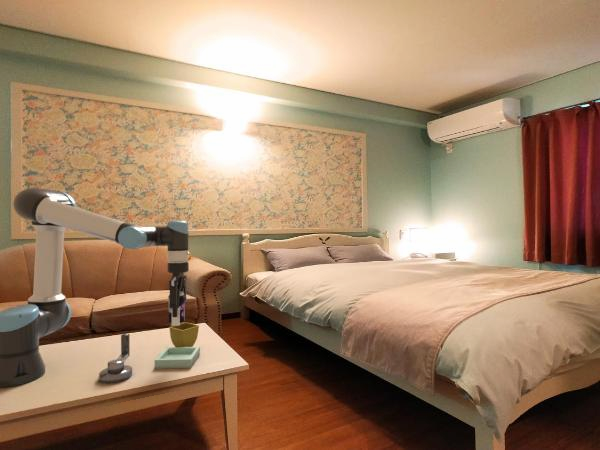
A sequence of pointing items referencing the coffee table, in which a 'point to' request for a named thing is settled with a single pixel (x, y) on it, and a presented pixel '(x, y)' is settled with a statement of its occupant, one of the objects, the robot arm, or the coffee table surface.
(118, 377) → the crank base
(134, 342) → the coffee table surface
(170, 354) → the tray
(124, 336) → the crank
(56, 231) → the robot arm
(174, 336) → the flower pot
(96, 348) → the coffee table surface
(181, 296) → the beverage can
